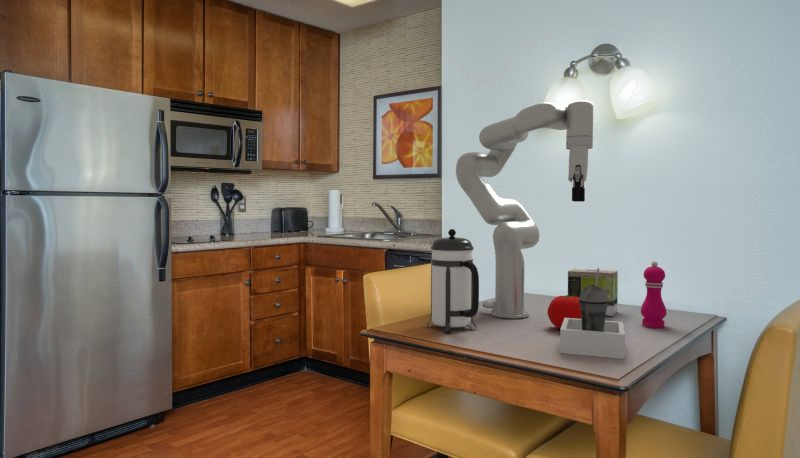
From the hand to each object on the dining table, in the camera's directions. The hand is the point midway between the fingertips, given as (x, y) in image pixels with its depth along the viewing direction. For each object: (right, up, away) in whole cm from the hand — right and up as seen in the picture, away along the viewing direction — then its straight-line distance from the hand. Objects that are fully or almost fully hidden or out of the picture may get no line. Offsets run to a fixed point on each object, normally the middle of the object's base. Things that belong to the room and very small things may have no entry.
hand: (578, 201), depth 161 cm
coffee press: (-37, -39, +1) cm, 53 cm away
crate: (-3, -39, -21) cm, 45 cm away
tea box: (+14, -37, +27) cm, 48 cm away
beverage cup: (-3, -39, -22) cm, 44 cm away
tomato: (-3, -39, +1) cm, 39 cm away
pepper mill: (+25, -38, +5) cm, 46 cm away
